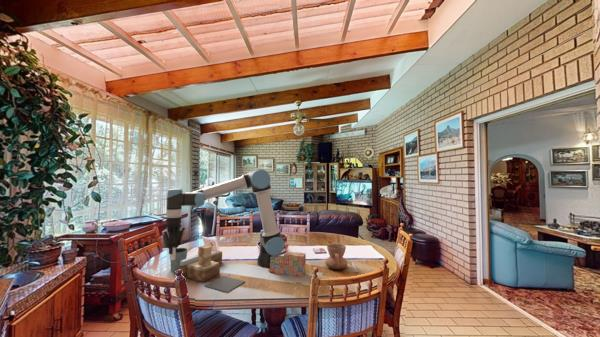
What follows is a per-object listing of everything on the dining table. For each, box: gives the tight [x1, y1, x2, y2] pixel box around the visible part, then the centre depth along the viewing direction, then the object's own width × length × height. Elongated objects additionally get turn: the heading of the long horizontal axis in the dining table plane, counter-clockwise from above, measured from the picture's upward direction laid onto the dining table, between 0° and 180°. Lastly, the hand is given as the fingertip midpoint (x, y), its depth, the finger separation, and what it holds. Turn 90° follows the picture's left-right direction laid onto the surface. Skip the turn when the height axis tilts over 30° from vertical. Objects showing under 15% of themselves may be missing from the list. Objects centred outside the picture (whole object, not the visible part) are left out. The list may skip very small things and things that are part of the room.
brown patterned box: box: [269, 251, 307, 278], centre depth 150 cm, size 21×6×12 cm, turn 73°
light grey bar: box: [180, 254, 199, 266], centre depth 147 cm, size 3×17×2 cm, turn 154°
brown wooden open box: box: [179, 250, 223, 283], centre depth 150 cm, size 18×31×8 cm, turn 154°
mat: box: [204, 275, 246, 294], centre depth 133 cm, size 16×14×1 cm
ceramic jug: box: [324, 242, 349, 271], centre depth 159 cm, size 18×14×14 cm
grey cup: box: [170, 247, 188, 272], centre depth 155 cm, size 10×10×12 cm
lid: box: [186, 244, 220, 271], centre depth 145 cm, size 17×11×12 cm, turn 64°
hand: (172, 259), depth 135 cm, fingers closed
